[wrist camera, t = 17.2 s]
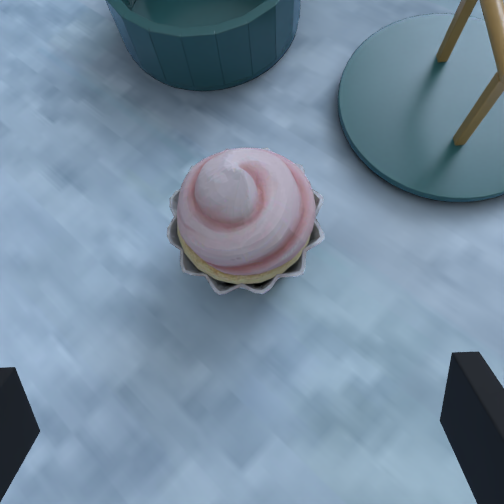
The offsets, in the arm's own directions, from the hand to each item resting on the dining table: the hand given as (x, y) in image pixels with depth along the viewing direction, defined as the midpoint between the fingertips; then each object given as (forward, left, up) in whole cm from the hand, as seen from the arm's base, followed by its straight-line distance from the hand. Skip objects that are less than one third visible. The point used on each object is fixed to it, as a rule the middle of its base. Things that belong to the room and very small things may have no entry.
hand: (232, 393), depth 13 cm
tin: (-15, +26, -14) cm, 33 cm away
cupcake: (-4, +9, -14) cm, 17 cm away
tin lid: (+5, +24, -13) cm, 28 cm away
